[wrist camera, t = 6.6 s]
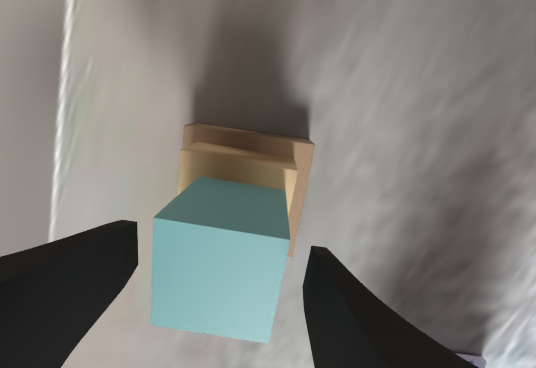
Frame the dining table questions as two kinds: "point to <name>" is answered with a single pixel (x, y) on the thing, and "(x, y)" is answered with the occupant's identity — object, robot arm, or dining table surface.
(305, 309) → the robot arm
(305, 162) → the brown square slab
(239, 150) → the oak slab
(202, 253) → the teal block
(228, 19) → the dining table surface
